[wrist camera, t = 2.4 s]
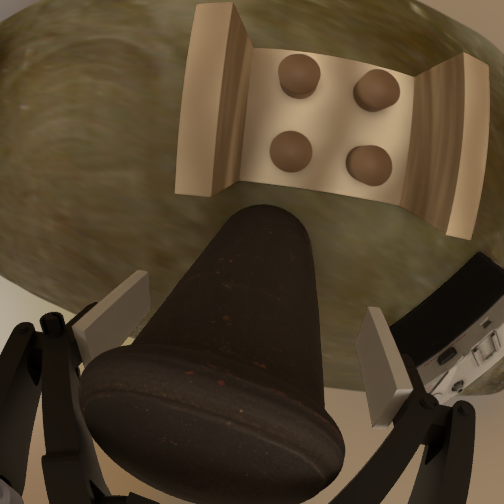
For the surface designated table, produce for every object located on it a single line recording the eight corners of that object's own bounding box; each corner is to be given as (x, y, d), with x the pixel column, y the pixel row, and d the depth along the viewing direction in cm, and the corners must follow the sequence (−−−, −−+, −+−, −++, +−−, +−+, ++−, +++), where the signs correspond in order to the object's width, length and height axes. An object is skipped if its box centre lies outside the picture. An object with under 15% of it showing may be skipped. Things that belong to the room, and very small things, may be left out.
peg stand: (200, 175, 23) (150, 191, 15) (213, 51, 19) (171, 7, 11) (429, 211, 21) (486, 244, 13) (443, 91, 17) (504, 75, 9)
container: (239, 308, 27) (167, 514, 8) (198, 222, 24) (20, 387, 6) (327, 281, 25) (362, 514, 6) (293, 185, 22) (291, 364, 4)
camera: (401, 373, 27) (423, 439, 18) (372, 320, 26) (398, 391, 16) (495, 310, 23) (540, 357, 14) (480, 246, 22) (540, 286, 12)
